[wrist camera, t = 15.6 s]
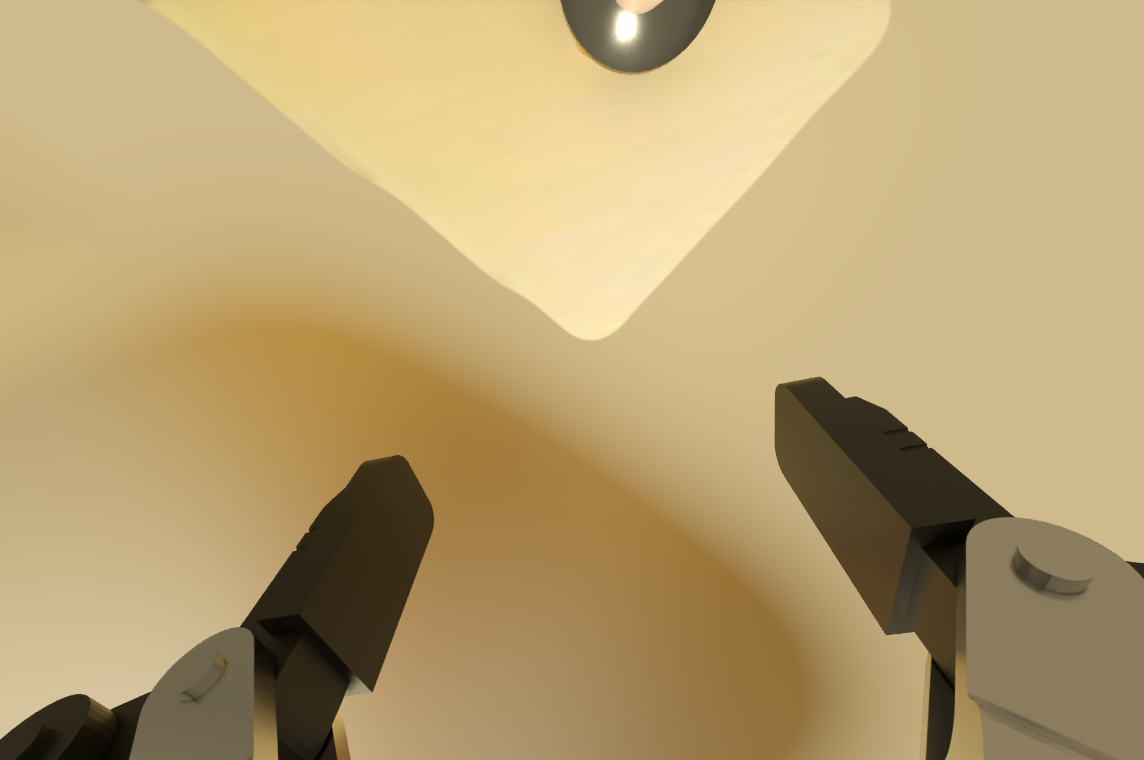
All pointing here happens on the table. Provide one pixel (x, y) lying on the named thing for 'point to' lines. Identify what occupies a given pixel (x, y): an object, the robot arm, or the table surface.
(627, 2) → the smoothie
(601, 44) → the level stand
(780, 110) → the table surface
